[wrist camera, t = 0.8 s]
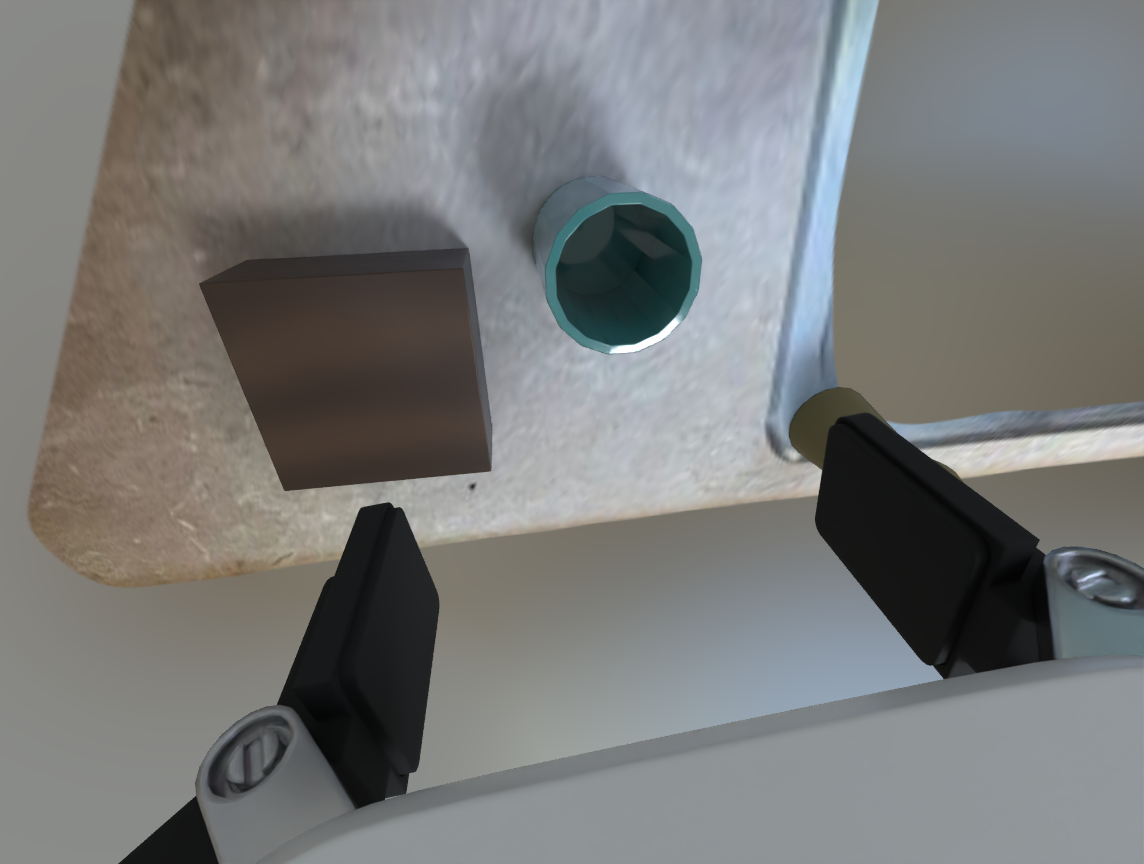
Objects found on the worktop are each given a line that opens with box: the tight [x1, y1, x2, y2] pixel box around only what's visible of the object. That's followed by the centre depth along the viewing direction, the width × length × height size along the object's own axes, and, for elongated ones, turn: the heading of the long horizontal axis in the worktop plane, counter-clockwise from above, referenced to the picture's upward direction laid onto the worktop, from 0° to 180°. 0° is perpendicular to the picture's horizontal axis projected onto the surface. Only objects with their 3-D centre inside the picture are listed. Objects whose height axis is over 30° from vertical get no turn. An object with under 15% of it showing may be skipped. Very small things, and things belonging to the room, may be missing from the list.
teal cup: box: [533, 176, 702, 354], centre depth 25 cm, size 7×7×9 cm
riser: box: [199, 248, 492, 491], centre depth 28 cm, size 12×12×5 cm
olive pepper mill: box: [789, 387, 963, 482], centre depth 33 cm, size 6×6×11 cm
